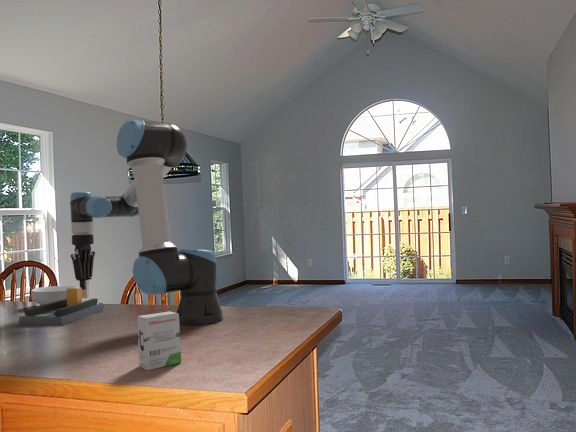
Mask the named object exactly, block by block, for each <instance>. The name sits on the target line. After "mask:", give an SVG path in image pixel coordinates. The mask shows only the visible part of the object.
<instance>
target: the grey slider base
mask: <svg viewBox="0 0 576 432" xmlns="http://www.w3.org/2000/svg"><path fill="white" fill-rule="evenodd" d="M64 307H67V304H64V305H61V306H58V307H54V308H51V309H48V310H44V311H41V312H38V313H37V314H34V315H31V316H28V315H25V314H23V315H19V316H18V325H19V326H20V327H22V326H23V327H63V326H65V325H69V324H71V323H74V322H77V321H80V320H82V319H85V318H87V317H90V316H93V315H96V314H98V313H101V312H103V311H104V303H103V302H98V303H97V304H95V305H92V306H89V307H86V308H83V309H80V310H77V311H74V312H71V313H68V314H65V315H62V316H56V310H58V309H61V308H64Z"/></svg>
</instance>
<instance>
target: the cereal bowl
mask: <svg viewBox="0 0 576 432" xmlns="http://www.w3.org/2000/svg"><path fill="white" fill-rule="evenodd" d="M70 287H77V286H73V285H53V286H43V287H42V286H41V287H35V288H33V289H31V293H30V294H31V298H32V300H33V302H35V304H37V305H39V306H41V305H45V304H48V303H52V302H55V301H59V300H62V299H67V289H68V288H70Z"/></svg>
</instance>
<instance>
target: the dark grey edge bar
mask: <svg viewBox="0 0 576 432" xmlns="http://www.w3.org/2000/svg"><path fill="white" fill-rule="evenodd" d="M64 304H67V299H62V300H59V301H55V302H52V303H48V304H45V305H39V306H35V307H32V308H27V309H25V310H24V315H28V316H31V315H34V314H37V313H38V312H41V311H44V310H48V309H51V308H54V307H58V306H61V305H64Z"/></svg>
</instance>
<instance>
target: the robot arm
mask: <svg viewBox="0 0 576 432" xmlns="http://www.w3.org/2000/svg"><path fill="white" fill-rule="evenodd" d="M116 137H117V138H116V149H117V153H118V154H119V156H120V157H122V158H123V159H126V164H127V167H128V168H130V169H131V170H132V173H133V179H134V180H133V181H132V182H131V184H130V185H129V186H128V187H127V189H126V190H125V192H124V193H122V195H121V196H116V195H115V196H114V195H113V196H107V195H106V196H102V195H94V196H93V194H92V193H91V191H76V192H75V191H74V192H73V191H72V192H71V193H70V201H69V205H70V220H71V221H70V222H71V226H70V227H71V234H72V235H71V245H73V246H75V247H74V253H71V254H70V258H71V261H72V265H73V272H74V278H75V279H76V281H79V287H80V288H82V299H89V298H90V282H89V281H90V280H92V279H93V278H92V277H93V273H94V261H95V260H94V259H95V255H96V252H95V251H94V250H93V251H92V247H91V245H93V244H94V243H95V242H94V240H95V239H94V234H93V233H94V219H98V218H99V219H101V218H116V217H117V218H119V217H120V218H121V217H122V218H124V217H125V218H127V217H128V218H129V217H131V218H133V217H138V218H139V225H140V233H141V241H142V247H141V248H140V250H139V251H138V257H137V258H135V260H134V262H133V266H132V276H133V279H134V282H135V284H136V287H138V289H139V290H140V291H141V292H142V293H144V294H145V295H148V296H149V295H150V296H152V295H153V296H154V295H164V294H168V293H169V294H170V293H174V292H179V295H180V296H179V301H178V305H177V308H176V311H175V313H178V314H179V324H180V325H185V326H186V325H187V326H188V325H190V326H195V325H199V326H200V325H209V324H214V323H218V322H221V321H223V320H224V313H223V309H222V306H221V303H220V300H219V298H218V294H217V293H218V292H217V291H218V289H217V261H216V253H215V252H214V251H213V250H210V249H209V250H208V249H197V248H179V249H178V246H177V245H175V243H173V242H172V237H171V230H170V229H171V228H170V222H169V216H168V208H167V199H166V192H165V186H164V178H165V177H166V176H167V175H168V173H169V172H170V171H171V170H172V168H173V169H175V168H177V167H179V165H180V163H181V162H182V161H183V160H184V158H185V156H186V153H187V149H188V142H187V138H186V135H185V134H184V132H183V131H182V129H180V128H179V127H178V126H176V125H175V124H172V123H170V122H160V121H150V120H143V119H129V120H127V121H125V122H123V123H122V125H121V127H120V129H119V131H118V133H117V136H116Z"/></svg>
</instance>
